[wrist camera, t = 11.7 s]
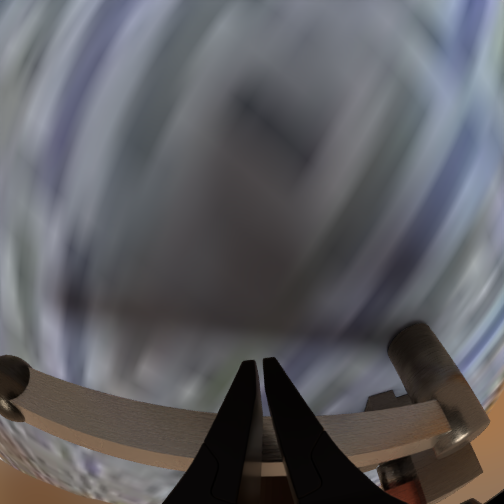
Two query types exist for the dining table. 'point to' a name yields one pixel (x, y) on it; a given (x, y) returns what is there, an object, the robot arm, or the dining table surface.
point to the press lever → (198, 423)
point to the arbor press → (422, 465)
